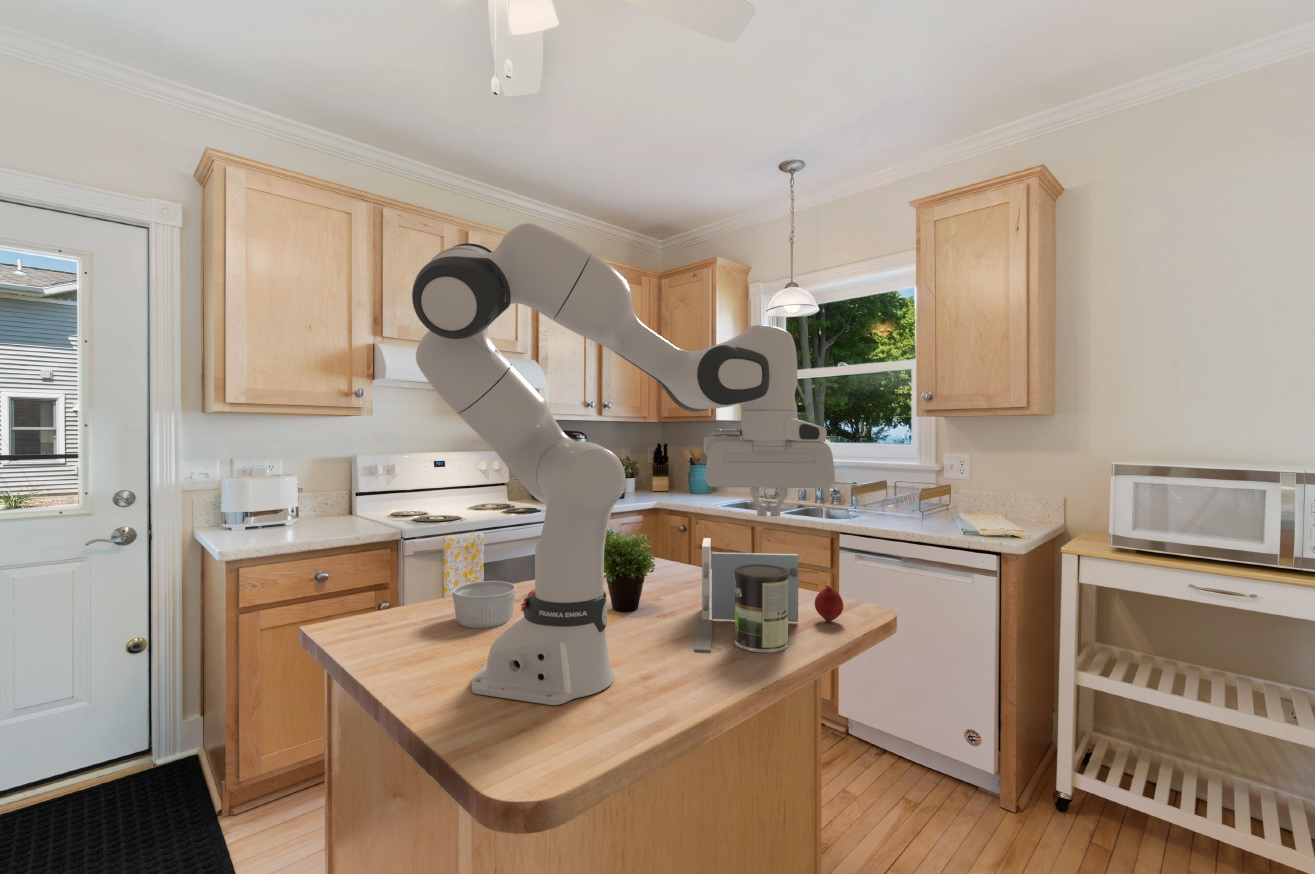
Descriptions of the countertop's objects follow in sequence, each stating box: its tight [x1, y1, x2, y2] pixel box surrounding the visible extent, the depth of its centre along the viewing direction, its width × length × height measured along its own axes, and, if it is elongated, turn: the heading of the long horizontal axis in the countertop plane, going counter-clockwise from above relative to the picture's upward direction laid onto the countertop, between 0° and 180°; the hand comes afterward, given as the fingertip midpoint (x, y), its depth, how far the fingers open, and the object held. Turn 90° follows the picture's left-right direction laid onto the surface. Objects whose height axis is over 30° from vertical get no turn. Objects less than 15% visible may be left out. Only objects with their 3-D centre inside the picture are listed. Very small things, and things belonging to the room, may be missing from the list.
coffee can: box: [733, 564, 789, 654], centre depth 118 cm, size 10×10×14 cm
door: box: [711, 551, 799, 623], centre depth 130 cm, size 18×3×14 cm, turn 84°
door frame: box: [694, 537, 714, 653], centre depth 128 cm, size 3×28×16 cm, turn 174°
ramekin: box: [451, 580, 517, 629], centre depth 132 cm, size 13×13×7 cm
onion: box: [814, 583, 844, 623], centre depth 131 cm, size 6×6×8 cm
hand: (768, 515), depth 99 cm, fingers closed
